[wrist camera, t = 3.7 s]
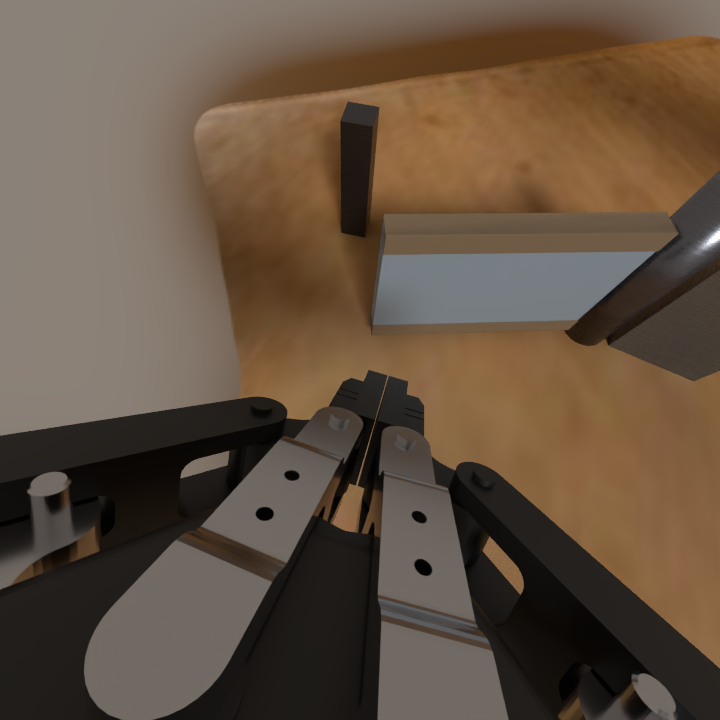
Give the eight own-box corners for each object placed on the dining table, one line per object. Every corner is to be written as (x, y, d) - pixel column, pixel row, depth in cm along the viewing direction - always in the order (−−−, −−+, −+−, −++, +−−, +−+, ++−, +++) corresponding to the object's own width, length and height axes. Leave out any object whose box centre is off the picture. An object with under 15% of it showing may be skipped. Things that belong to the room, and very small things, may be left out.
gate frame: (696, 360, 26) (955, 239, 15) (692, 394, 25) (968, 290, 14) (350, 210, 31) (354, 37, 20) (333, 233, 29) (326, 62, 19)
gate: (562, 313, 26) (666, 212, 17) (568, 330, 25) (678, 233, 17) (370, 317, 25) (383, 214, 17) (371, 335, 24) (386, 236, 16)
